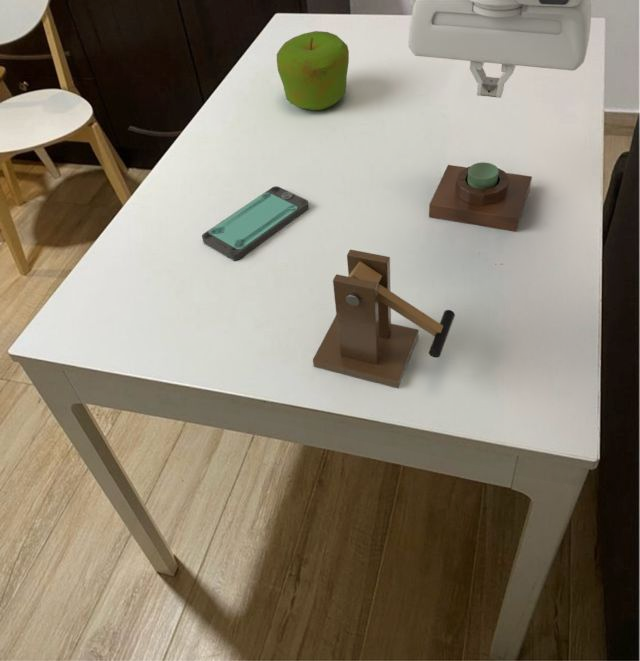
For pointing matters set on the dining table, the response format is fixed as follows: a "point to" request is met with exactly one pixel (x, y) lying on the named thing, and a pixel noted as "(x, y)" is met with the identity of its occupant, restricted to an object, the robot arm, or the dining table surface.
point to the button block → (480, 199)
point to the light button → (482, 175)
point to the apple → (313, 69)
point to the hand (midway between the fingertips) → (489, 94)
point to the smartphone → (255, 222)
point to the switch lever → (408, 309)
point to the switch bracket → (365, 328)
